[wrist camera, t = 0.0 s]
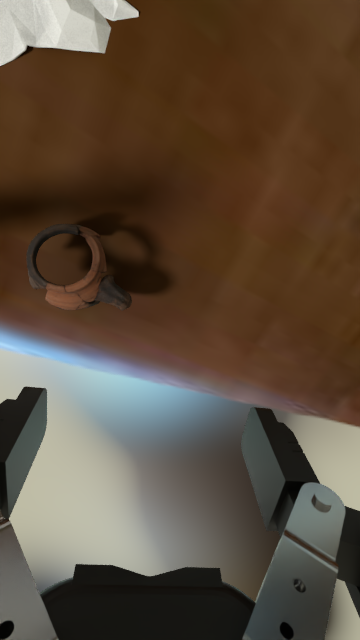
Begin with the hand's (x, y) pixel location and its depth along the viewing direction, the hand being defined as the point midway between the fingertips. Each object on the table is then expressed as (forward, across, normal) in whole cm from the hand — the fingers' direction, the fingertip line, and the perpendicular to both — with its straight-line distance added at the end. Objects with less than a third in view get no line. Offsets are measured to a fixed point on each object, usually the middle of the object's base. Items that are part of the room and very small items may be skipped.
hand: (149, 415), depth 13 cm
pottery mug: (+30, +7, +5) cm, 31 cm away
